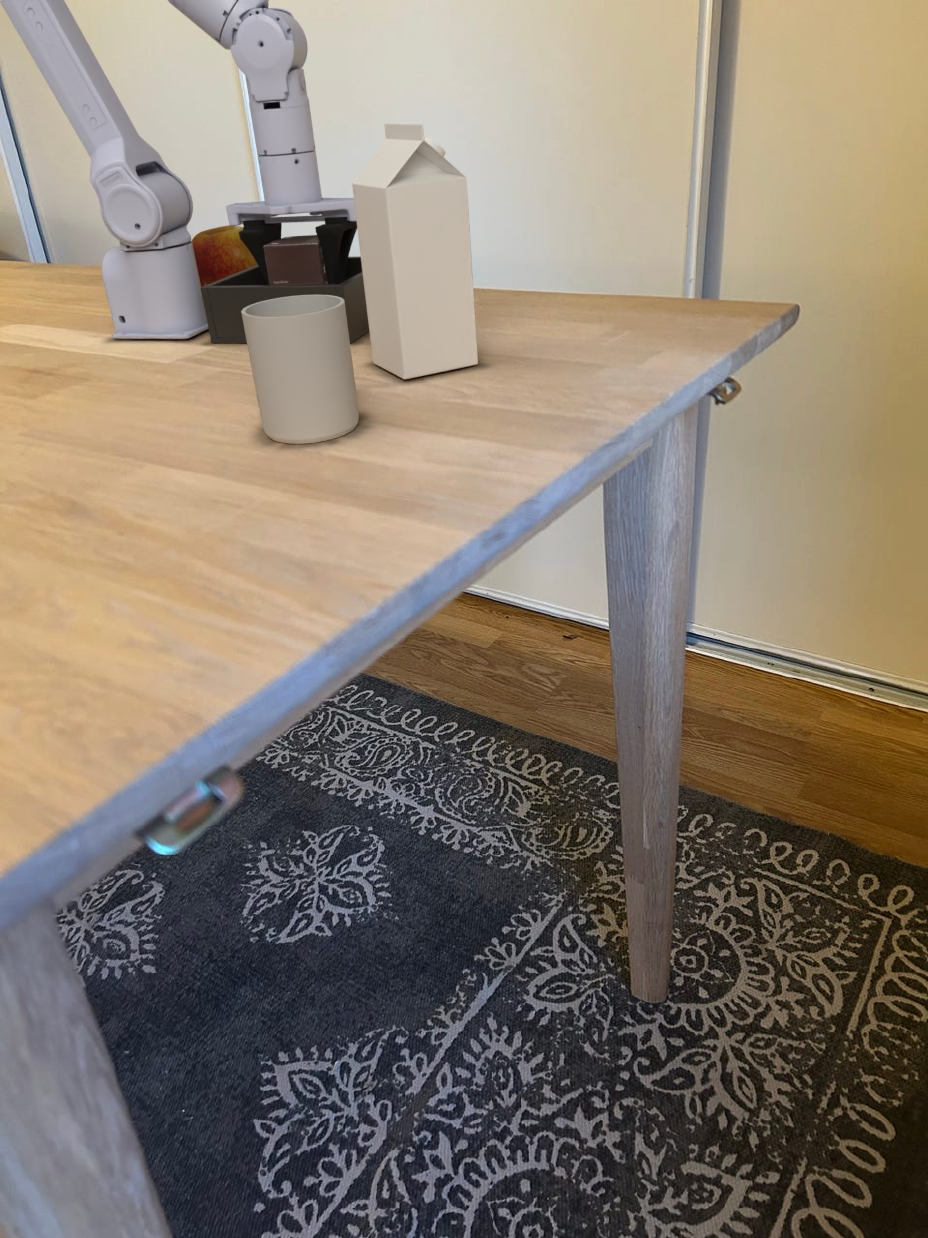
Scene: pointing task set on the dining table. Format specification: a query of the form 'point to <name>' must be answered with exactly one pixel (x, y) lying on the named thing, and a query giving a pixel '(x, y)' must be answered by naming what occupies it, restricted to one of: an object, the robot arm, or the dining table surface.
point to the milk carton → (416, 256)
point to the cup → (302, 367)
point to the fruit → (220, 253)
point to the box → (295, 261)
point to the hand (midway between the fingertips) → (307, 296)
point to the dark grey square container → (252, 288)
